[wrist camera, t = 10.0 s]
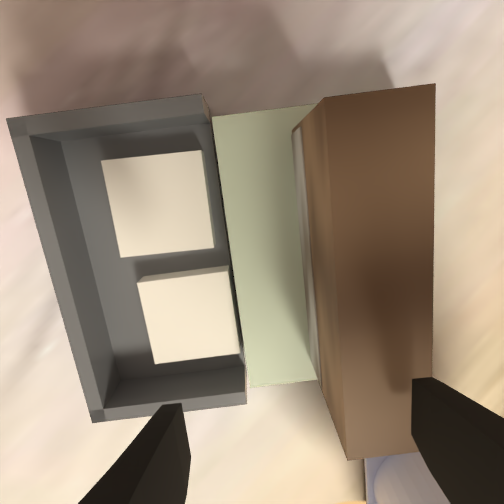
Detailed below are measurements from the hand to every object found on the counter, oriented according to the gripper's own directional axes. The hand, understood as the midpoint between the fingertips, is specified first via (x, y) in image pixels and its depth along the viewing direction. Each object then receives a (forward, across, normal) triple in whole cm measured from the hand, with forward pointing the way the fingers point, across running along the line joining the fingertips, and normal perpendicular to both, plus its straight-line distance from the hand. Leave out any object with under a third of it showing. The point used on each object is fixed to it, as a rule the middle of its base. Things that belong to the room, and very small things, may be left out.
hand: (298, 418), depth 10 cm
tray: (+10, +7, -3) cm, 12 cm away
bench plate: (+10, -3, -3) cm, 11 cm away
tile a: (+9, +5, 0) cm, 10 cm away
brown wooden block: (+7, -3, -3) cm, 8 cm away
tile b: (+9, +5, -6) cm, 13 cm away
